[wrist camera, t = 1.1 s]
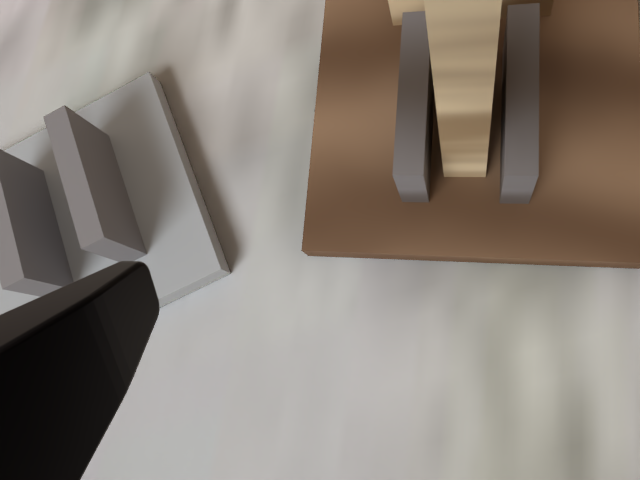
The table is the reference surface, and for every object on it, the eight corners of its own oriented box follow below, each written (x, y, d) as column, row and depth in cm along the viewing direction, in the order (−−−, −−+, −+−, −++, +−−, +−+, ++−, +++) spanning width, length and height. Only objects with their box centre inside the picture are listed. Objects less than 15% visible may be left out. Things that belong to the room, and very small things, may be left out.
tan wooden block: (485, 177, 21) (503, -19, 11) (444, 177, 22) (422, -13, 11) (488, 77, 22) (507, -193, 12) (448, 79, 22) (431, -182, 12)
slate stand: (230, 273, 24) (186, 253, 20) (29, 370, 25) (-49, 369, 21) (160, 82, 27) (110, 33, 23) (-17, 177, 28) (-91, 146, 24)
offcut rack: (639, 268, 20) (679, 242, 16) (308, 255, 23) (277, 231, 19) (627, -96, 23) (658, -189, 20) (338, -66, 26) (316, -140, 23)
